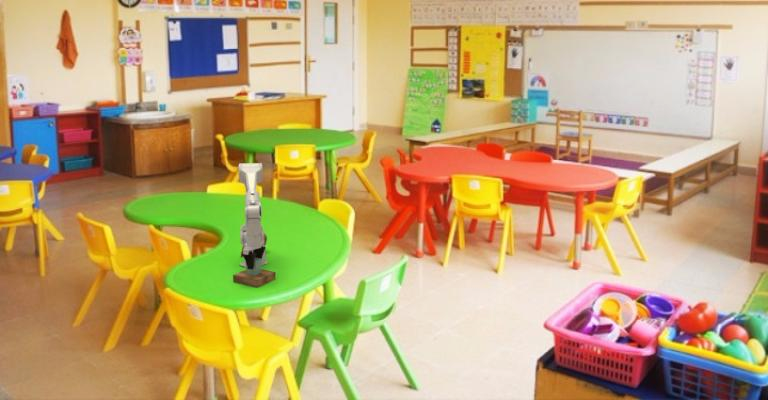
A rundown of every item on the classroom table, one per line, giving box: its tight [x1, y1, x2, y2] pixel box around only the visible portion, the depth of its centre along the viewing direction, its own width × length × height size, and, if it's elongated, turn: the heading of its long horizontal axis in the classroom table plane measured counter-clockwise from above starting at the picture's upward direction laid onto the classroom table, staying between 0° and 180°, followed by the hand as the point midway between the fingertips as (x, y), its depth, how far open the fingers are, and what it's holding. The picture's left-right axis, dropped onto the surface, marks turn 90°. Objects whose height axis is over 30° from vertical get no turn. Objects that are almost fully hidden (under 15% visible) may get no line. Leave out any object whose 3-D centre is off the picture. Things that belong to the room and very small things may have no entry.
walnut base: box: [232, 268, 276, 288], centre depth 320 cm, size 12×12×3 cm
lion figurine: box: [240, 232, 268, 258], centre depth 352 cm, size 15×5×9 cm, turn 139°
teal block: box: [245, 258, 262, 276], centre depth 319 cm, size 4×4×6 cm
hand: (254, 266), depth 319 cm, fingers open, 6 cm apart
